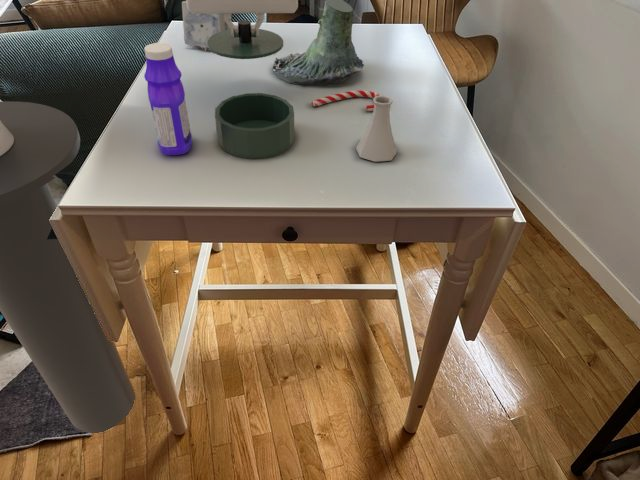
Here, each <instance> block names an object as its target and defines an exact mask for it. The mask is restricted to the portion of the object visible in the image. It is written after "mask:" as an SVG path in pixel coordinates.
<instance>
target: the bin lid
mask: <svg viewBox="0 0 640 480" xmlns="http://www.w3.org/2000/svg"><path fill="white" fill-rule="evenodd" d="M237 25H238V29H239V37H234V38H232V37H231V29H229V30H225V31H221V32H218V33H216V34H214V35H212V36H211V37H210V38H209V39H208V41H207V45H208V50H209V51H210V52H211V53H213V54H215V55H217V56H219V57H223V58H228V59H236V60H253V59H254V60H255V59H262V58H265V57H266V58H267V57H270V56H272V55H275V54H277V53H278V52H280V51H281V50H282V49H283V47H284V39H283V37H282V36H280V34H277V32H276V33H275V32H273V31H271V30H267V29H263V28H259V37H251V25H252V23H251V21H250V20H247V19H243V20H239V21H237Z"/></svg>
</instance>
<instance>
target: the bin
mask: <svg viewBox="0 0 640 480" xmlns="http://www.w3.org/2000/svg"><path fill="white" fill-rule="evenodd" d="M214 120H215V128H216V136H217V142H218V144H219V146H220V148H221V149H222V150H223V151H224V152H226V153H228V154H230V155H232V156H234V157H236V158H237V157H238V158H241V159H249V160H250V159H251V160H259V159H260V160H261V159H268V158H272V157H276V156H278V155H281V154H283V153H285V152H286V151H288V150H289V149H290V148H291V147H292V146H293V143H294V141H295V110H294V106H293V105H292V104H291V103H290V102H289V101H288V100H287V99H286V98H285V99H284V98H282V97H280V96H277V95H274V94H268V93H262V92H253V93H251V92H250V93H243V94H238V95H233V96H229V97H228V98H226V99H224V100H222V101H221V102H220V103H219V104H218V105H217V106H215V109H214Z"/></svg>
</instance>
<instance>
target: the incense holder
mask: <svg viewBox="0 0 640 480" xmlns="http://www.w3.org/2000/svg"><path fill="white" fill-rule="evenodd" d="M181 11H182V14H181V15H182V27H183V41H184V44H185V45H188V46H195V47H196V46H197V47H200V48H201V49H202V51H203V52H206V51H208V50H209V48H208V45H207V41H208V39H209V38H210V37H211V36H212V35H214V34H216V33H218V32H221V31H225V30H229V29H230V28H229V26H228V25H227V23H226V22H225V20H224V16H223V14H193V13H191V12H190V11H189V10H188V8H187V2H186V0H183V1H181ZM231 15H233V13H231Z"/></svg>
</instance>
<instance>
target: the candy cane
mask: <svg viewBox="0 0 640 480" xmlns="http://www.w3.org/2000/svg"><path fill="white" fill-rule="evenodd" d="M380 95H381V94H379V93H377V92H374V91H370V90H349V91H343V92H339V93H334V94H331V95H327V96H324V97H320V98H316V99H314V100H312V101H311V105H312V107H315V108H316V107H319V106H322V105H325V104H328V103H333V102H336V101H340V100H345V99H350V98H368V99H372V100H373V98H374V97H375V96H380ZM373 110H374V104H369V105H366V107H365V111H366V112H373Z"/></svg>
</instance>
